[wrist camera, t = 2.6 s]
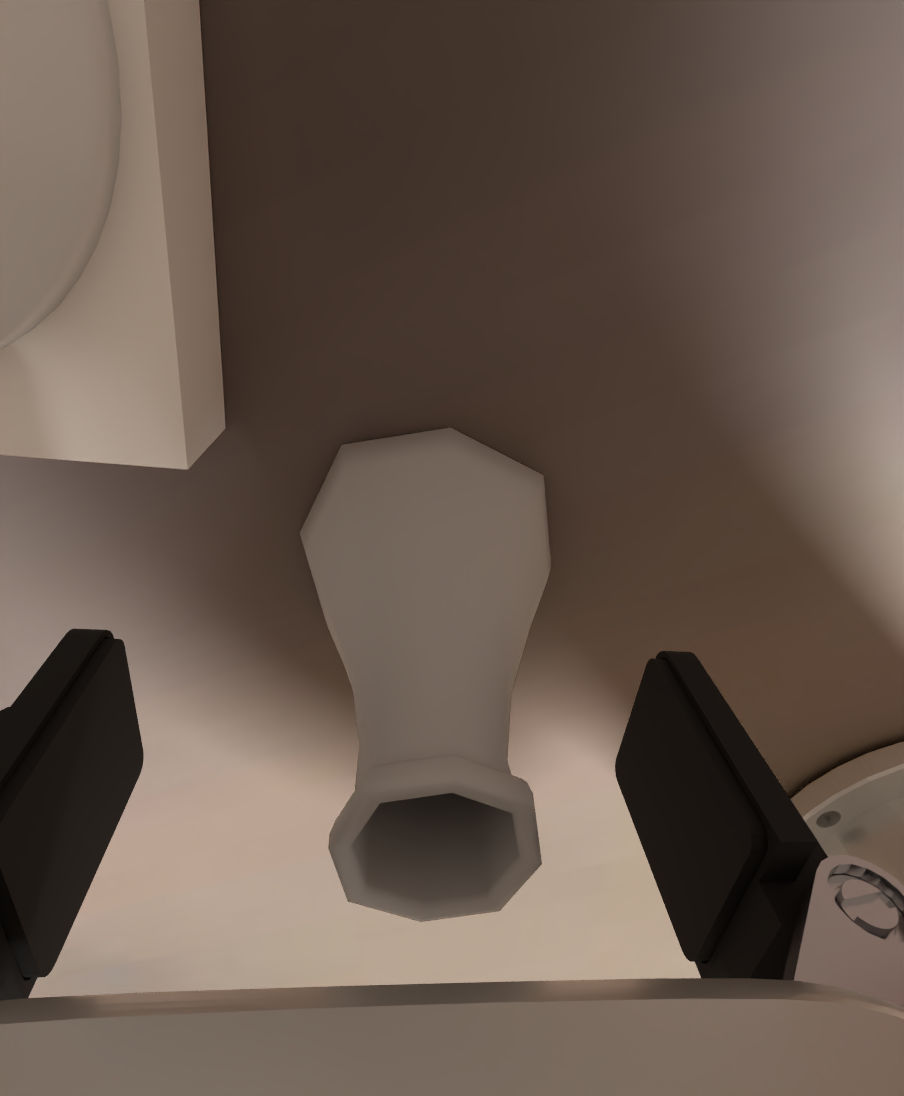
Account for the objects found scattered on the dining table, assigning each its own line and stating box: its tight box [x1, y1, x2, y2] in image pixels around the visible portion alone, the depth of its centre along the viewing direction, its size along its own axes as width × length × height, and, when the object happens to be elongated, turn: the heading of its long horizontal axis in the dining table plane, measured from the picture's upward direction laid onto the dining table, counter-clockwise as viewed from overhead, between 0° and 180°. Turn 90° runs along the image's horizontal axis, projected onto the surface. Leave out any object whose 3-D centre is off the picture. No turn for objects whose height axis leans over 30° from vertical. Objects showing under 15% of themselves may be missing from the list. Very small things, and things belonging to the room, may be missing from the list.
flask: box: [300, 428, 551, 922], centre depth 14 cm, size 7×7×10 cm
